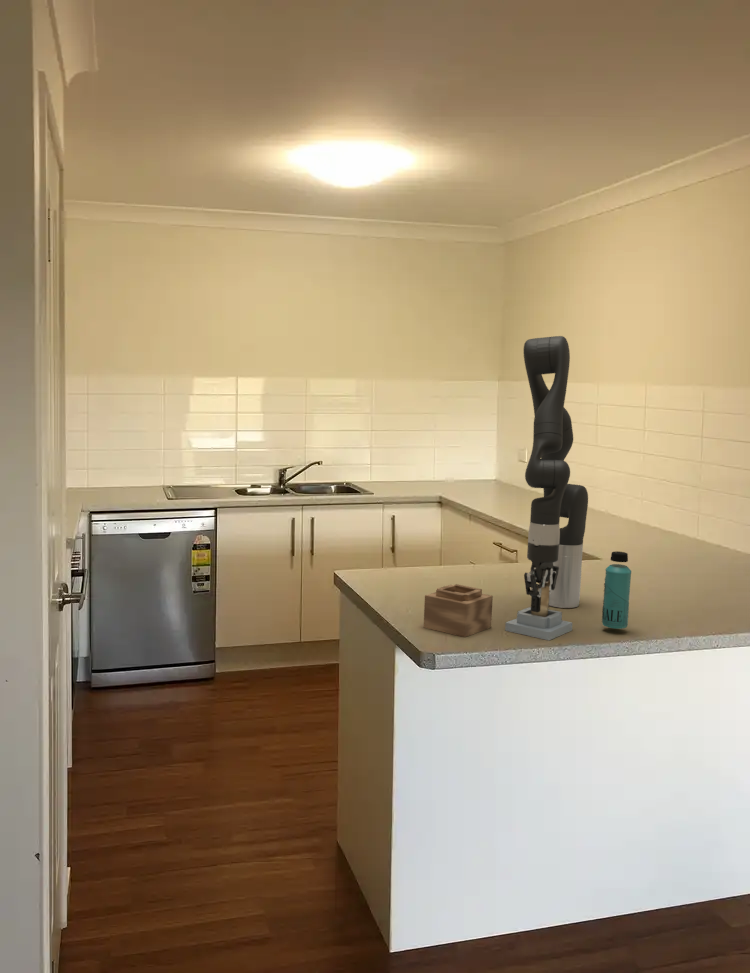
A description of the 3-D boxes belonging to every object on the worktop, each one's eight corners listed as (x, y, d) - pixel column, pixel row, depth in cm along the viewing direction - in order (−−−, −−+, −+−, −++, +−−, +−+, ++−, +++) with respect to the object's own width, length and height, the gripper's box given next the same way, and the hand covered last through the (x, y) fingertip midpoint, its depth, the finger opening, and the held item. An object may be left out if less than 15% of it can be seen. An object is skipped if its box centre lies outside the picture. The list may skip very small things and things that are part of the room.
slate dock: (529, 621, 244) (530, 603, 243) (572, 630, 236) (573, 612, 236) (505, 630, 234) (506, 612, 234) (549, 640, 227) (550, 622, 226)
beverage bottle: (623, 627, 240) (628, 549, 238) (631, 635, 234) (636, 555, 231) (597, 627, 240) (602, 549, 238) (604, 634, 234) (610, 554, 231)
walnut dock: (450, 618, 244) (452, 581, 243) (491, 627, 237) (493, 589, 235) (423, 627, 235) (425, 589, 233) (464, 637, 227) (466, 598, 226)
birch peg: (535, 615, 238) (537, 584, 237) (550, 618, 235) (552, 586, 234) (528, 618, 235) (529, 586, 233) (542, 621, 232) (544, 589, 231)
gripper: (543, 535, 240) (539, 602, 242) (515, 542, 229) (511, 612, 231) (571, 539, 236) (566, 607, 238) (543, 547, 225) (539, 618, 227)
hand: (539, 609), depth 235 cm, fingers closed on birch peg, 3 cm apart
